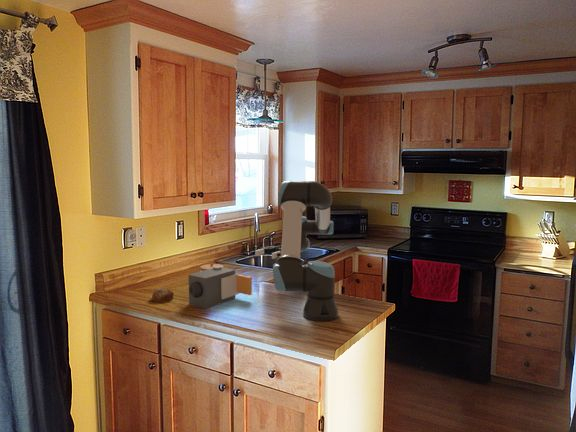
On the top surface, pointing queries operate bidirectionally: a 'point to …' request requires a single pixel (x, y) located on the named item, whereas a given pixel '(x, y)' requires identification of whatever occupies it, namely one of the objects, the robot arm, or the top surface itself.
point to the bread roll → (162, 294)
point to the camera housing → (208, 287)
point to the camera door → (235, 285)
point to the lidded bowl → (209, 266)
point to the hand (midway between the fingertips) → (263, 254)
